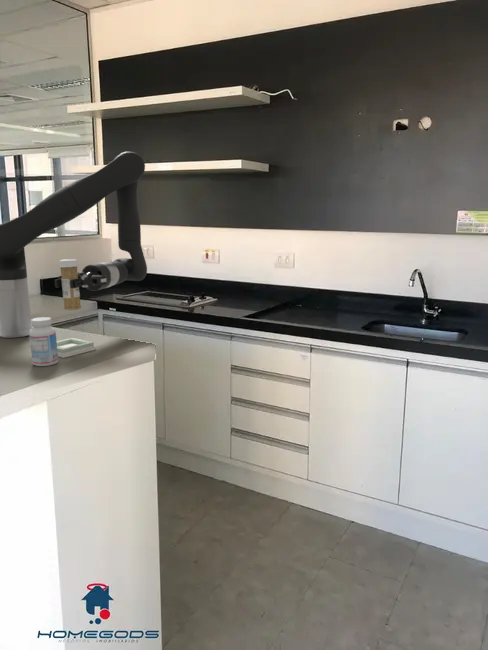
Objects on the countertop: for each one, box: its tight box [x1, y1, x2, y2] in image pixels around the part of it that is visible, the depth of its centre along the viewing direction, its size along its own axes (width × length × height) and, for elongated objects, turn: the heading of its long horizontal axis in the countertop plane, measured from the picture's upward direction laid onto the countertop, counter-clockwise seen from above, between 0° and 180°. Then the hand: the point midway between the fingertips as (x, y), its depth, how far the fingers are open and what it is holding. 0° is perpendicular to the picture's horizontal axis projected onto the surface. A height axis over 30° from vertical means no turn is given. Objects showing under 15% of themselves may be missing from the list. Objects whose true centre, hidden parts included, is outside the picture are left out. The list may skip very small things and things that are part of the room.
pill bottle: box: [28, 316, 59, 367], centre depth 134 cm, size 6×6×11 cm
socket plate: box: [56, 337, 97, 358], centre depth 147 cm, size 10×10×2 cm
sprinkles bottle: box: [59, 258, 82, 311], centre depth 147 cm, size 5×5×14 cm
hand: (63, 284), depth 145 cm, fingers closed on sprinkles bottle, 4 cm apart
